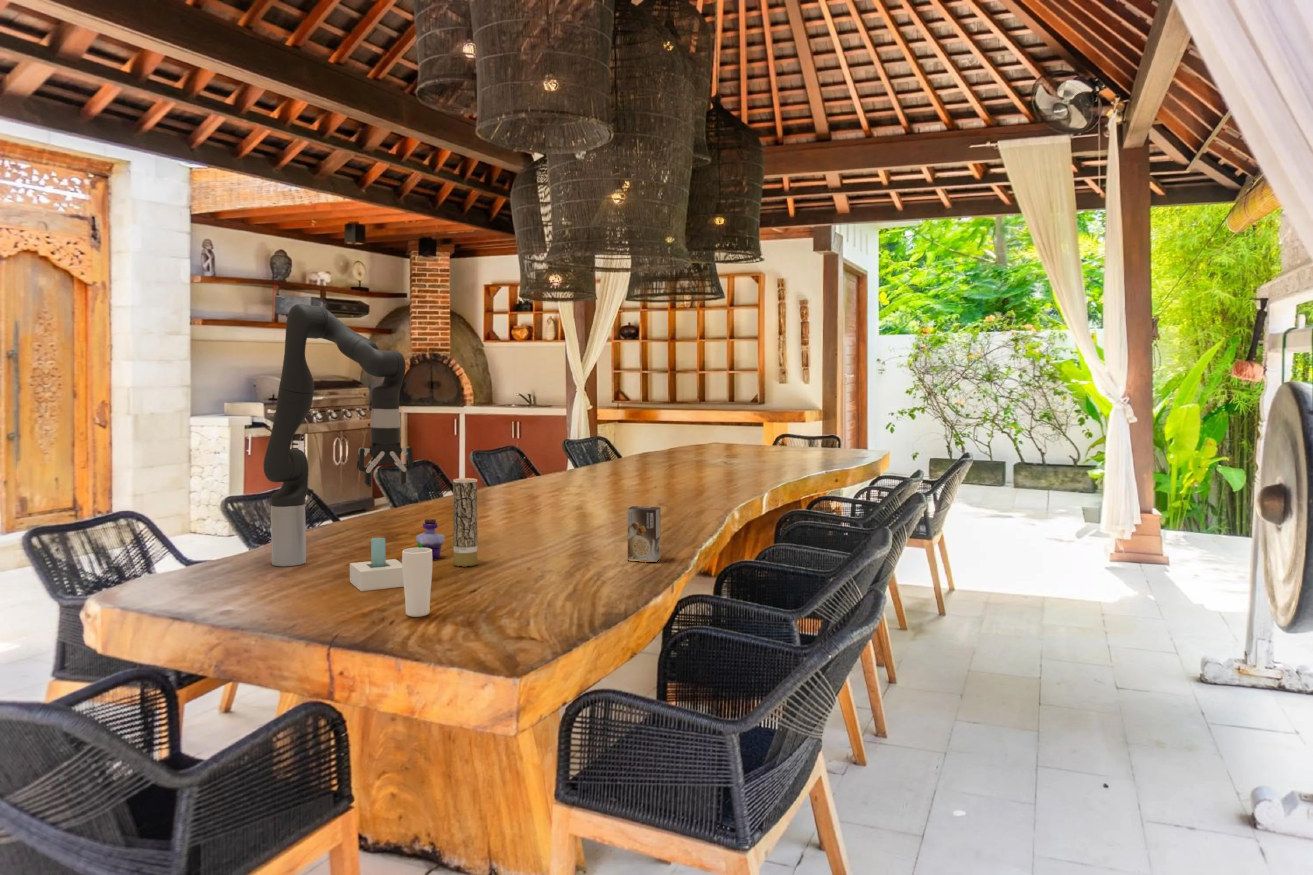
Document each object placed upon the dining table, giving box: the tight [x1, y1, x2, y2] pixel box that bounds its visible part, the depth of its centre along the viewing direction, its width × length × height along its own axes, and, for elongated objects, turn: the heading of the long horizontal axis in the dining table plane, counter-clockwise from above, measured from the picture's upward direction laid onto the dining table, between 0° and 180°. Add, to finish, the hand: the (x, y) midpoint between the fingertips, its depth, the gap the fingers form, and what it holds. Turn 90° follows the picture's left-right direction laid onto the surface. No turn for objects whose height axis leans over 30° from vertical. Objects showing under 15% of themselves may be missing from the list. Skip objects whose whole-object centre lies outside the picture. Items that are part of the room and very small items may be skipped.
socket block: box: [349, 558, 404, 592], centre depth 239 cm, size 12×12×5 cm
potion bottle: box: [415, 518, 446, 561], centre depth 273 cm, size 9×9×12 cm
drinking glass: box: [401, 547, 433, 618], centre depth 209 cm, size 7×7×15 cm
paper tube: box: [452, 477, 478, 568], centre depth 263 cm, size 7×7×25 cm
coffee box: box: [627, 505, 661, 561], centre depth 273 cm, size 9×6×16 cm
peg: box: [370, 537, 387, 568], centre depth 239 cm, size 4×4×12 cm
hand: (385, 486), depth 243 cm, fingers open, 8 cm apart
